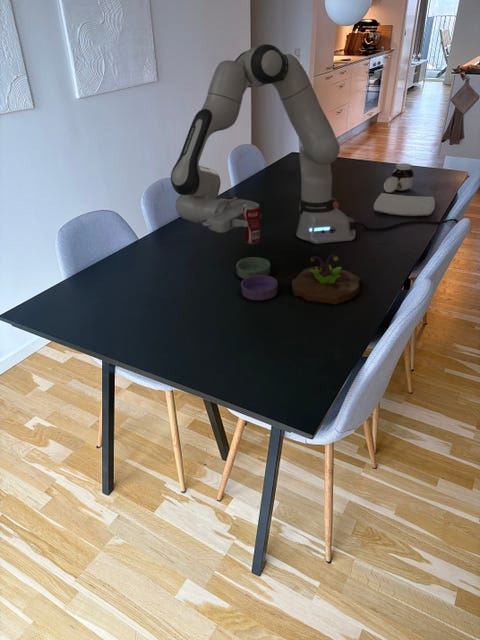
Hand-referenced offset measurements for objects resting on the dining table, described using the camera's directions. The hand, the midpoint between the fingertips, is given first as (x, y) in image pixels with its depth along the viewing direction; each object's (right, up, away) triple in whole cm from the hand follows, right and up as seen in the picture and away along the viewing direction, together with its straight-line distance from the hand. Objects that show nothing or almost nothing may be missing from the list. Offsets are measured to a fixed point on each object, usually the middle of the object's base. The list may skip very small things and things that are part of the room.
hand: (254, 220), depth 147 cm
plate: (+66, +17, +57) cm, 88 cm away
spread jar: (+70, +30, +78) cm, 109 cm away
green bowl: (0, -15, +11) cm, 19 cm away
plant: (+22, -21, 0) cm, 31 cm away
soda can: (0, -6, +4) cm, 7 cm away
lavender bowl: (+1, -22, -1) cm, 22 cm away
